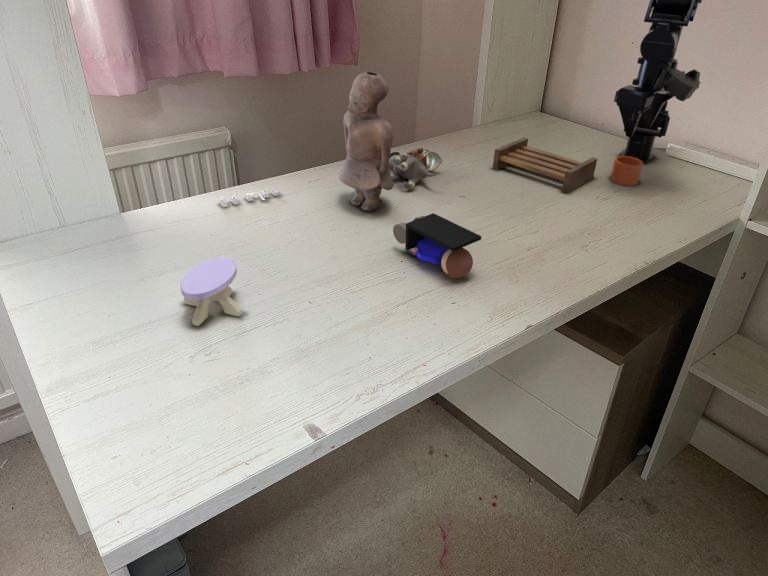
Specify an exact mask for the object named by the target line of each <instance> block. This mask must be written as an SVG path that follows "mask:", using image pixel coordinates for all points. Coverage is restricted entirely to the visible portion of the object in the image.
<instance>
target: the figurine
mask: <svg viewBox="0 0 768 576" xmlns="http://www.w3.org/2000/svg"><path fill="white" fill-rule="evenodd" d="M442 163H443V159H442V157H441V156H440V155H439V153H437V152H435V151H431V150H429V149H427V148H426V149H423V147H418V148H415V149H412V150H406V151H405V154H400V152H399V151H395V150H394V151H391V152H390V160H389V165H388V168H389V171H390V175H391V178H392V181H393V182H395V181H398V180H400V179H401V178H403V179H405V180H407V182H406V181H403V183H402V185H401V186H402V189H405V190H407V189H409V190H412V189H413V190H414V189H415V186H416V184H417V183H418V182H420V181H421V179H423V178H424V177H427V178H428V177H429V178H430V177H435V176H438V175H442V172H436V173H432V171H435V170H437V169H438V168H439V166H440V165H441V164H442Z"/></svg>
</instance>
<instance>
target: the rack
mask: <svg viewBox="0 0 768 576" xmlns="http://www.w3.org/2000/svg"><path fill="white" fill-rule="evenodd" d="M528 142H529V138H528V137H520V138H519V139H517V140H515V141H512V142H509V143H507V144H505V145H503V146H500V147H498V148H496V149H494V154H493V160H492V161H493V162H492V168H491V169H492V170H495V171H498V170H500V169H503V168H505V167H507V166H509V165H512V166H516V167H520V168H523V169H526V170H529V171H532V172H535V173H538V174H541V175H545V176H547V177H551V178H554V179H556V180H559V181H562V187H561V193H562V194H563V193H564V194H568V193H570V192H572V191H574V190H575V189H577V188H578V187H580V186H582V185H585V184H586V183H587V182H589V181H591V180H592V179H594V176H595V171H596V167H597V164H598V163H597V162H598V158H597V157H593V156H592V157H590V158H588V159H587V160H584V161H583V162H582V161H579V160H576V159H572V158H569V157H565V156H562V155H558V154H555V153H552V152H549V151H547V150H542V149H538V148H535V147H532V146H529V145H528Z"/></svg>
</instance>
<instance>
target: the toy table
mask: <svg viewBox="0 0 768 576" xmlns="http://www.w3.org/2000/svg"><path fill="white" fill-rule="evenodd" d="M237 273H238V270H237V264H236V262H235V261H234V259H232V258H230V257H222V256H221V257H214V258H211V259H207V260H205V261H203V262H200V263H199V264H197V265H195V266H193V268H191V269H189V270H188V271H187V272H186V273H185V275H184V276H183V277H182V279H181V281H180V291H181V295H182V296H183V297H184V298H183V301H184V304H186V305H189V306H192V307H193V306H194V307H195V310H194V313H193V316H192V319H191V323H192V325H193V326H197V327H199V326H200V325H201V324H202V323H204V322H205V320H207V319H208V318H209V307H210V304H211V302H214V301H217V302H218V303H219V304H220V306H221V307H222V309H223V313H224V314H226V315H231V316H234V317H240V316H242V314H243V310H242V308H241V306H240V305H239V304H238V303H237V302H236V301H234V299H233V298H232V297H231V295H232V293H233V290H232V287H230V285H231V284H232V283H233V281H234V280H235V278H236V276H237Z"/></svg>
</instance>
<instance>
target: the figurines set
mask: <svg viewBox="0 0 768 576" xmlns="http://www.w3.org/2000/svg"><path fill="white" fill-rule="evenodd" d="M224 194H225V193H224V192H223V193H222V196H219V197H220V199H219V202H220V203H219V204H220V206H221V207H222V208H228V201H227V200H226V199H225V196H224ZM271 194H272V195H273V196H275V197H276V196H279V190H278V188H272V189H271ZM253 195H254V197H253ZM258 195H259V197H260V200H262V201H265V200H266V198H269V197H270V195H269V192H268V191H267V190H261V193H260V192H252V193H247V194H246V195H245V198H246V200H247V201H248V202H253V201H254V198H256V199H257V198H258V197H257V196H258ZM230 196H231V197H230V202H231V204H233V205H238V204H239V199H238V198H237V197H238V195H237V191H235V193H232V194H231V195H230Z"/></svg>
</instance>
